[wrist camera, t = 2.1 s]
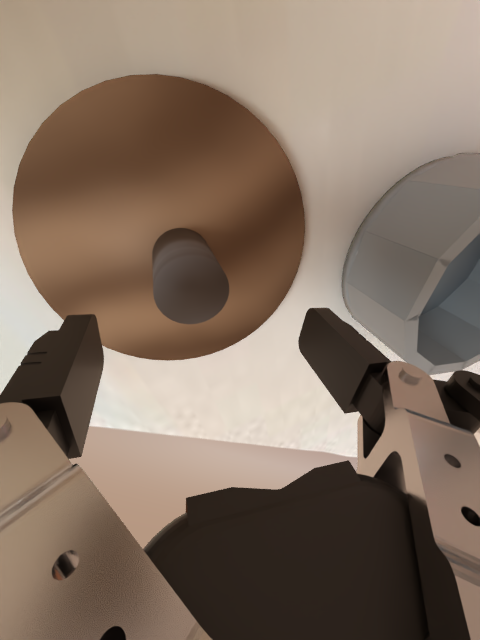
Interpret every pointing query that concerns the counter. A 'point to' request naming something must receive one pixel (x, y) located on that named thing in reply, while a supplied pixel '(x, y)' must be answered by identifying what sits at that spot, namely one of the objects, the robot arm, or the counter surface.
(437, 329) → the grey hollow cylinder
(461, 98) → the counter surface
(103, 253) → the walnut lid
